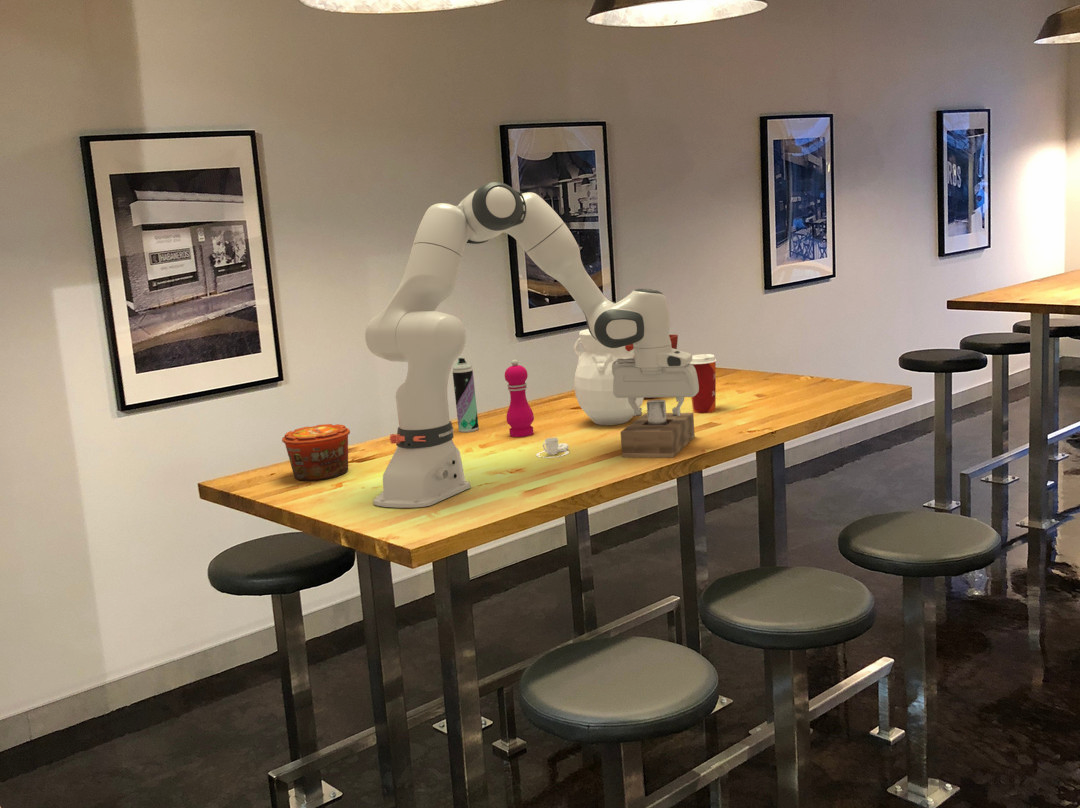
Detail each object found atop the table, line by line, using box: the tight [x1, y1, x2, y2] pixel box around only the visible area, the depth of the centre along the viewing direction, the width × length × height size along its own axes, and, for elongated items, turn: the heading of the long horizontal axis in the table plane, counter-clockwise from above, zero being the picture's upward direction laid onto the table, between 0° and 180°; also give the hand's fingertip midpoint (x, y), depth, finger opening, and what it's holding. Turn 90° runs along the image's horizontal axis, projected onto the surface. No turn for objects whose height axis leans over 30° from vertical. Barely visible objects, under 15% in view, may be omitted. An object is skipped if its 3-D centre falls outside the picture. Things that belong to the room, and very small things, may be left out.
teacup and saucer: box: [535, 437, 570, 459], centre depth 253 cm, size 9×8×4 cm
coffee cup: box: [690, 353, 718, 414], centre depth 285 cm, size 8×8×15 cm
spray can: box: [452, 357, 479, 433], centre depth 287 cm, size 6×6×20 cm
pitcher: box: [573, 328, 644, 426], centre depth 281 cm, size 19×18×25 cm
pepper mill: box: [504, 359, 535, 438], centre depth 276 cm, size 7×7×20 cm
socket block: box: [620, 412, 695, 459], centre depth 250 cm, size 20×12×6 cm, turn 157°
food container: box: [281, 423, 351, 482], centre depth 253 cm, size 16×16×11 cm
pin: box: [646, 399, 667, 425], centre depth 250 cm, size 4×4×10 cm
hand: (657, 415), depth 249 cm, fingers open, 8 cm apart
